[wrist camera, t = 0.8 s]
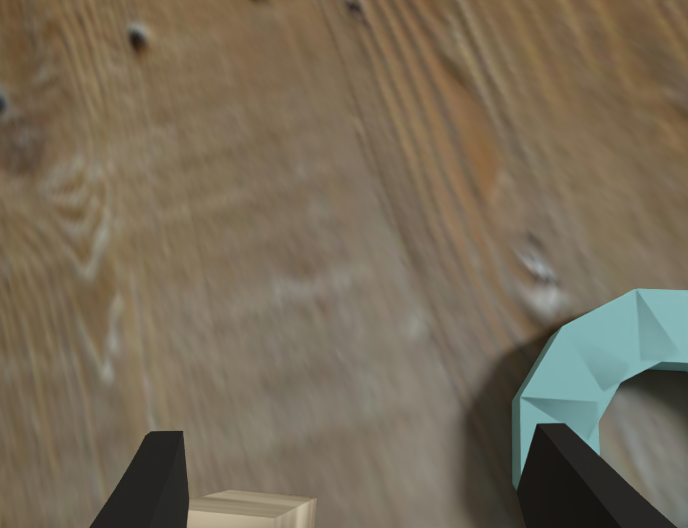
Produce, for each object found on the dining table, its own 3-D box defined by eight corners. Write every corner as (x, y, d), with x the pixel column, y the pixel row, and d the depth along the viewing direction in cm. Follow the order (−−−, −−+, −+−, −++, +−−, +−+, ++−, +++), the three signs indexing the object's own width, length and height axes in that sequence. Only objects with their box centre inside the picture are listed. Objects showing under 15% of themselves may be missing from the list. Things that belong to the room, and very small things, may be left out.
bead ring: (865, 645, 23) (917, 668, 20) (513, 606, 25) (522, 623, 22) (815, 309, 26) (853, 296, 24) (510, 297, 28) (519, 284, 26)
